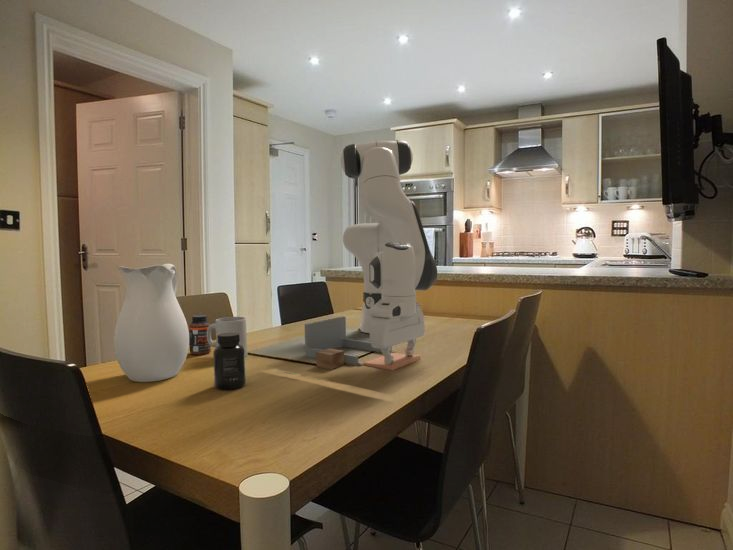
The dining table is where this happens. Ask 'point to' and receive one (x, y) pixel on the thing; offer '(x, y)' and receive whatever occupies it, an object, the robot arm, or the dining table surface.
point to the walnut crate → (330, 358)
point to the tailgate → (398, 361)
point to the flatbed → (333, 339)
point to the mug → (229, 330)
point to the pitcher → (151, 325)
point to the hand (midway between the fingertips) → (399, 359)
